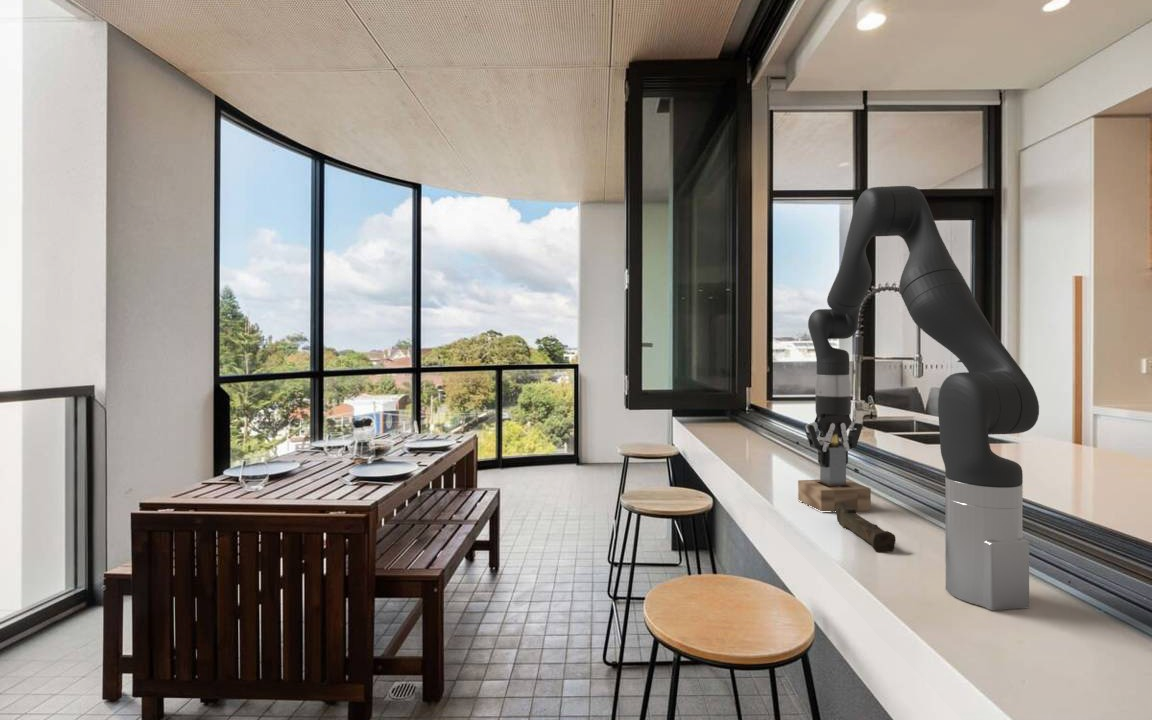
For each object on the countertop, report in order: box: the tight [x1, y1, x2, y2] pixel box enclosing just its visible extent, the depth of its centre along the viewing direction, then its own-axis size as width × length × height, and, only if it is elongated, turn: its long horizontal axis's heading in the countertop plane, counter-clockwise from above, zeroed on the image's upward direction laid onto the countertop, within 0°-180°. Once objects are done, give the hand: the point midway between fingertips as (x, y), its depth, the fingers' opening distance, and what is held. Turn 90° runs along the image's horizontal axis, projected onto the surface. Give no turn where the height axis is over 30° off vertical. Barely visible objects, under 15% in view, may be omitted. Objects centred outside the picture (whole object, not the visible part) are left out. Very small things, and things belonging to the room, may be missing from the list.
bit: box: [819, 434, 847, 487], centre depth 130 cm, size 4×4×12 cm
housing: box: [797, 478, 872, 512], centre depth 130 cm, size 10×12×5 cm
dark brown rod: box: [835, 503, 897, 553], centre depth 109 cm, size 19×4×5 cm, turn 177°
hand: (833, 466), depth 130 cm, fingers closed on bit, 4 cm apart
